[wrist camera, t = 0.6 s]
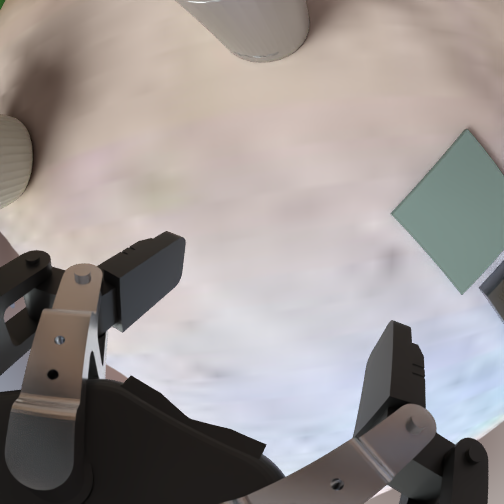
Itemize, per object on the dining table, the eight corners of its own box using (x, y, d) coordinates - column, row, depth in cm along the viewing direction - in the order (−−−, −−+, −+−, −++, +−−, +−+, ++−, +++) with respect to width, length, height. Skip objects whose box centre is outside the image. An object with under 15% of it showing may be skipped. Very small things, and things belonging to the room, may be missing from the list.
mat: (390, 213, 29) (392, 214, 28) (464, 129, 25) (467, 129, 24) (459, 292, 29) (461, 295, 28) (526, 215, 25) (530, 216, 24)
